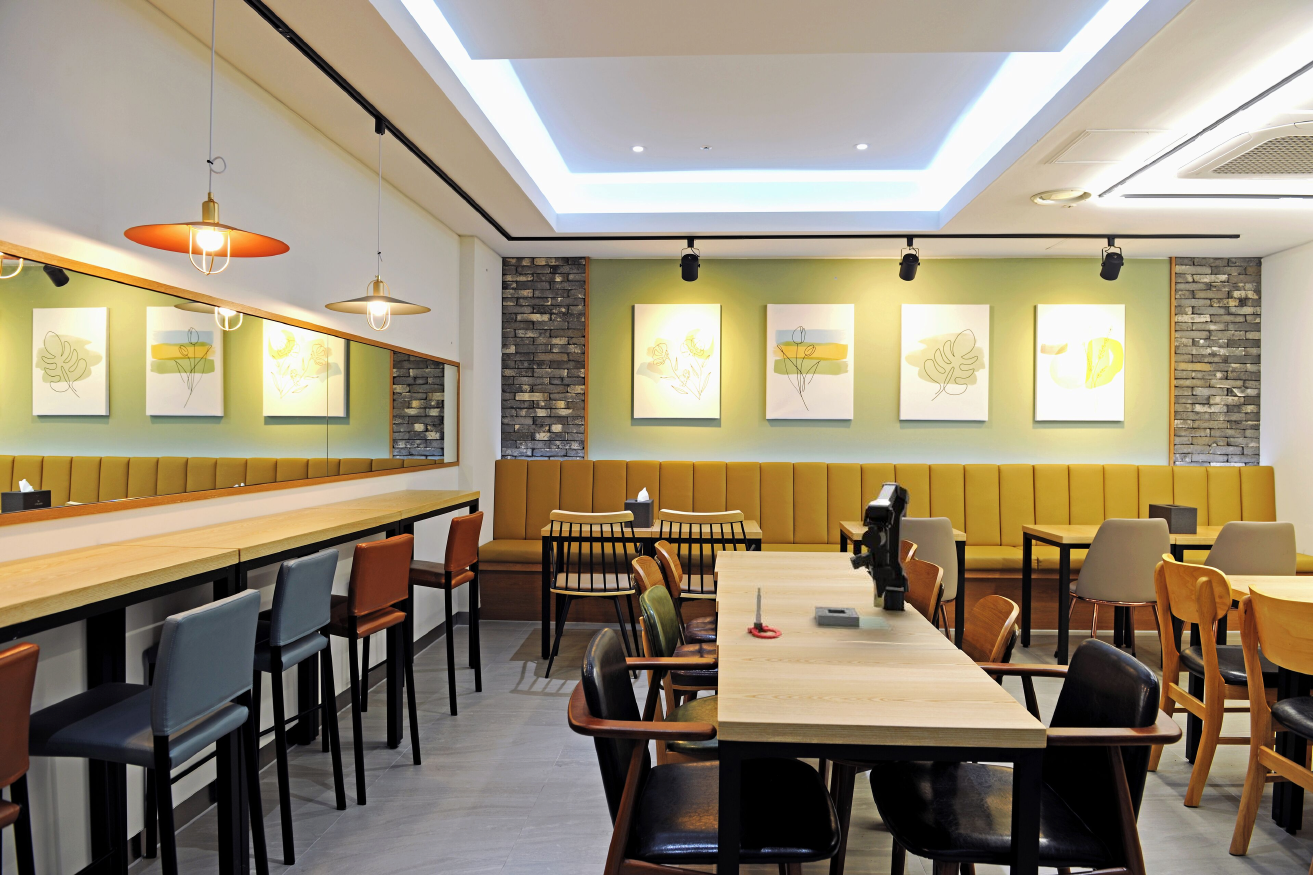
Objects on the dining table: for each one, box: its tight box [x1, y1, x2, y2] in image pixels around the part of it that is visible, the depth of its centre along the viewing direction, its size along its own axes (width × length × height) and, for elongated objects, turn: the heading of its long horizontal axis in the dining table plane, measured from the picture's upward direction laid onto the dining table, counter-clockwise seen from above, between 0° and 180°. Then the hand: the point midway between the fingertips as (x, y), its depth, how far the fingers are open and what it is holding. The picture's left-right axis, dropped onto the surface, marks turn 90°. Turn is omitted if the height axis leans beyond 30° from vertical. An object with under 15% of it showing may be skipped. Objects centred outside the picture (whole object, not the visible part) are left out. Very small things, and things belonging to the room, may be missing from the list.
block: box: [814, 606, 860, 627], centre depth 224 cm, size 12×12×3 cm
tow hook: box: [747, 587, 783, 640], centre depth 210 cm, size 8×13×9 cm
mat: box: [815, 616, 892, 631], centre depth 223 cm, size 21×15×1 cm
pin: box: [873, 580, 884, 609], centre depth 222 cm, size 3×3×10 cm
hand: (878, 596), depth 222 cm, fingers closed on pin, 3 cm apart
